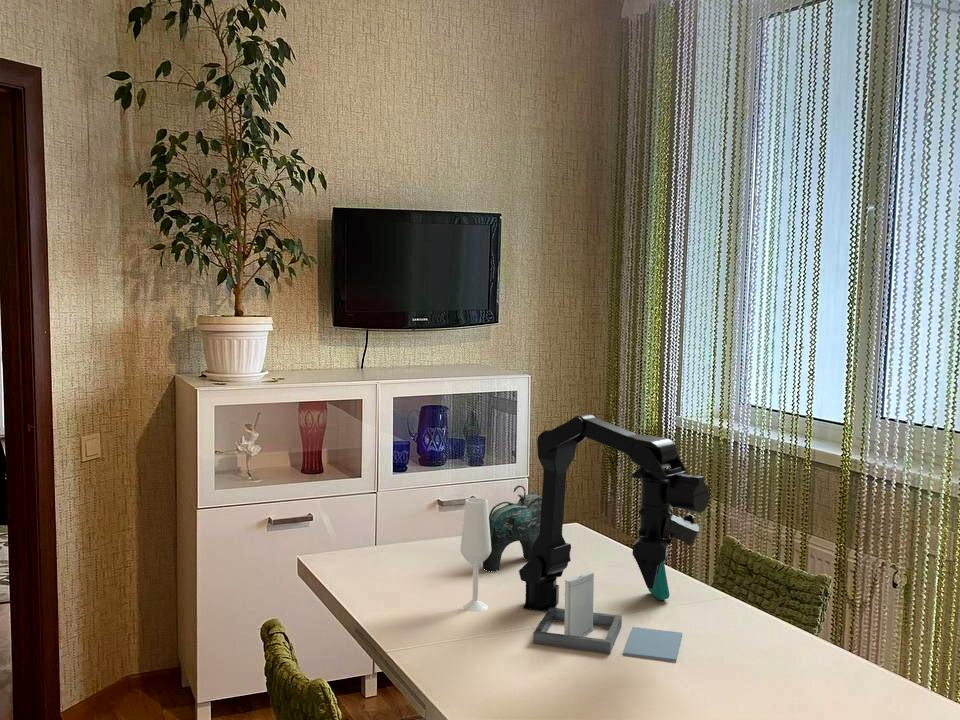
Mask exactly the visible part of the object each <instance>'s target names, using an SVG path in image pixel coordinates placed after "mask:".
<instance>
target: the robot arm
mask: <svg viewBox="0 0 960 720" xmlns="http://www.w3.org/2000/svg"><path fill="white" fill-rule="evenodd" d="M586 439H590V440H592V441H595V442H597V443H599V444H602V445H604V446H606V447H609V448H612V449H614V450H616V451H618V452H621V453H623V454H625V455H626V456H627V457H628V458H629V459H630V460H631V462H632V463H634V464H635V465H637V466H638V467H639V468H638V469H637V470H636V471H635V472H633V473H631V477H632V478H634V479H639V480H641V483H640V484H641V485H640V487H641V490H640V507H639V510H638V515H639V516H640V517H639V519H640V522H639V529H638V534H637V535H638V536H639V538H637V539H636V540H635V541H634V543H633V544H632V556H633V559H635V562H636V564H637V566H638V568H639V571H640V573H641V576H642V578H643V580H644V582H645V583H644V584H645V586H646V588H647V589H648V588H650V589H652V588H653V587H654V582H655V578H656V574H658V573H659V569H660V564H661V562H663V561H664V562H665V561H666V560H667V557H668V547H669V545H670V544H671V543H672V541H673V538H674V539H677V540H679V541H681V542H683V543H685V545H687V546H690V547H693V546H694V545H695V541H696V539H697V536H698V535H699V532H700V525H699V524H697V523H696V519H695V517H696V516H695V515H693V514H691V513H686V514H685V515H684V516H683V517H682V516H677V515H674V514H673V513H674V511H673V510H674V509H673V508H675V509H679V510H684V511H687V512H688V511H689V512H694V513H698V514H702V513H703V512H705V510H706V509H707V508H708V506H709V502H710V497H711V496H710V494H711V493H710V491H709V488H708V485H707V484H706V483H705V477H704V476H703V475H702V476H701V475H690V474H688V473H689V471H688V470H687V468H686V466H685V465H684V463H683V461H682V459H681V456H679V455H680V454H679V453H678V451H677V447H676V445H675V442H673V440H671V438H670V439H669V438H666V437H661V436H655V435H646V434H637V433H635V432H633V431H630V430H628V429H625V428H623V427H620V426H618V425H615V424H612V423H610V422H607V421H605V420H602V419H601V418H600V419H599V418H597V417H596V416H594V415H593V414H589V413H588V414H581V415H576V416H574V417H572V418H571V419H570V420H568V421H567V422H564V423H562V424H560V425H559V426H556V427H554V428H551V429H547V430H544V431H542V432H541V433H540V434H538V436H537V441H536V447H537V458H538V460H539V463H540V464H541V467H542V469H543V473H542V475H543V476H542V488H541V497H542V501H541V515H540V530H539V535H538V537H537V538H536V540H535V542H534V544H533V545H532V548H531V553H530V557H529V560H528V562H526V563H525V564H524V565H523V566H522V567H521V568H520V569H519V570H518V573H519V578H520V580H521V581H523V582H525V600H524V601H525V603H524V604H523V606H522V607H523V609H524V610H531V611H541V612H547V611H548V609H549V608H550V607H551V608H557V605H559V601H560V598H559V596H560V593H559V592H560V585H559V584H557V579H558V578H561V577H562V576H563V573H564V570H566V568H567V567H568V566H569V565H568V564H569V562H571V561H572V560H571V550H572V545H571V543H567V542H566V540H565V538H564V537H563V527H564V526H563V525H564V511H565V499H566V496H565V495H566V487H567V486H566V485H567V484H566V483H567V482H566V481H567V472H568V469H569V467H570V466H571V464H572V462H573V460H574V458H575V454H576V451H577V445H578V444H580V443H582V442H583V441H584V440H586ZM669 467H670V468H669ZM665 468H667V469H665ZM640 536H643V537H640Z"/></svg>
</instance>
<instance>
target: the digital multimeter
mask: <svg viewBox="0 0 960 720" xmlns="http://www.w3.org/2000/svg"><path fill="white" fill-rule="evenodd" d="M640 537H643V536H639V538H640ZM647 590H648V591H649V593H650V594H651V595H652V596H653V597H654V598H655V599H657V600H660V601H664V600H666V599H667V600H668V599H670V590H669V584H668V578H667V572H666V566H665V561H663V562H661V564H660V569H659V573H658V574H656V578H655V582H654V587H653V588H652V589H650V588H647Z"/></svg>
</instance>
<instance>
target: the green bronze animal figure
mask: <svg viewBox="0 0 960 720" xmlns="http://www.w3.org/2000/svg"><path fill="white" fill-rule="evenodd" d="M518 488H522V489H523V491H524V492H523V493H524V494H520V493H519V494H517V496H518V497H519V500H518V501H517V502H516V503H513V502H509V501H502V502H500V503H498V504H495V506H493V507H492V508H491V510H490V512H489V526H490V538H491V553H490V555H489V557H488V558H487V559H486V560H485V561H484V562H483V563H482V570H483V569H485V570H487V571H486V572H488V571H490V572H489V573H492V572H491V571H495V572H497V571H496V570H498V571H500V570H499V569H500V565H501V558H502V557H503V556H502V555H503V553H504V551H505V549H506V548H507V547H508V546H509V545H510V544H512V543H515V542H519V543H520V546H521V548H522V554H523V559H524V558H525V559H524V560H526V559H527V560H526V561H529V557H530V553H531V548H532V545H533V544H534V542H535V540H536V538H537V537H538V535H539V530H540V515H541V501H542V496H539V495H538V494H537V491H536V490H535V489H534V488H532V492H531V493H527V494H526V488H525V486H522V485H516V486H515V487H514V489H513V493H516V490H518ZM503 504H505V505H503ZM502 505H503V506H502ZM499 506H501V507H499ZM496 508H497V509H496ZM485 570H484V571H485Z"/></svg>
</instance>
